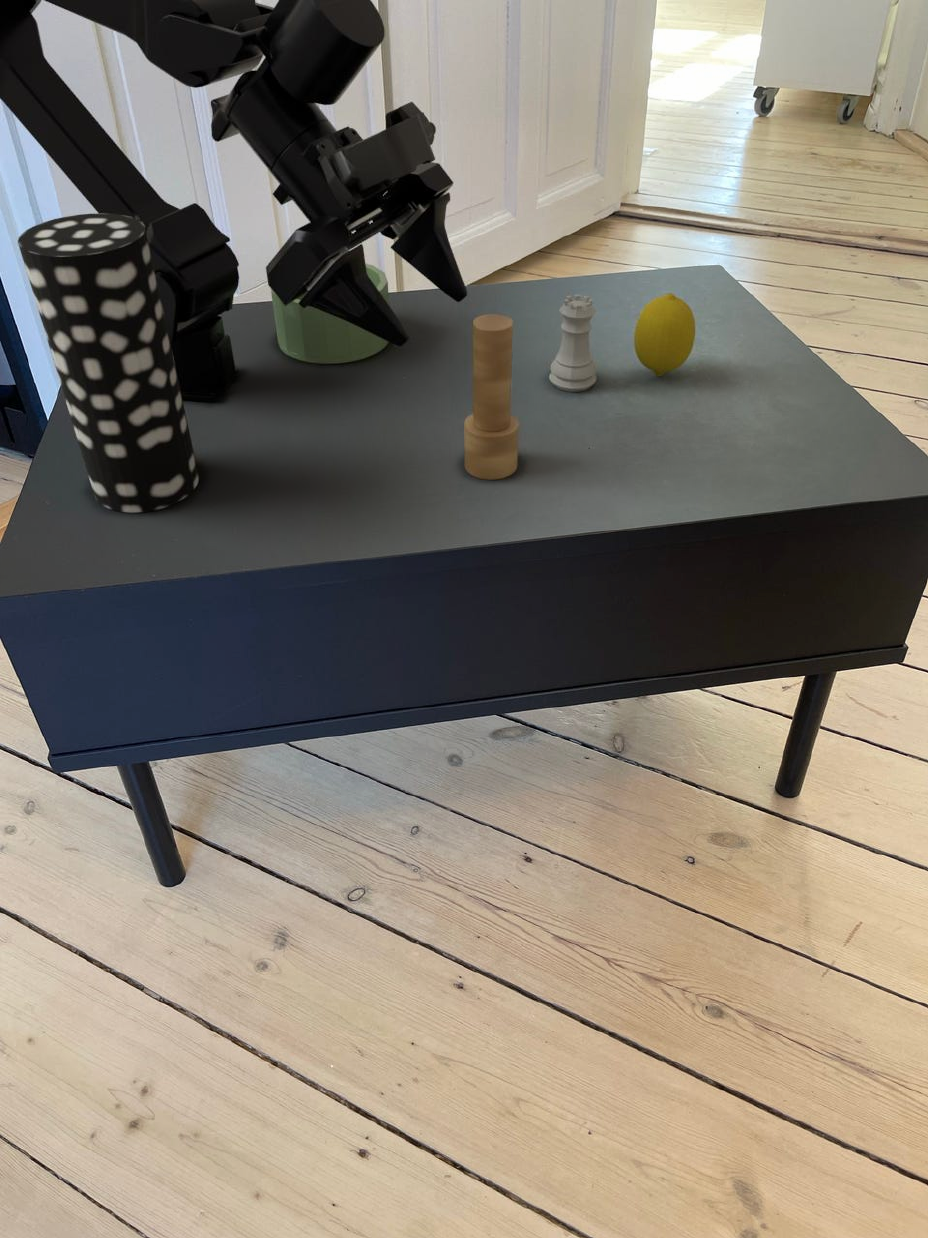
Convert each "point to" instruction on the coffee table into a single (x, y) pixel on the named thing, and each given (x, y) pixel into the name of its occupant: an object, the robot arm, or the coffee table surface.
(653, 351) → the lemon
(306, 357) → the crock
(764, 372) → the coffee table surface
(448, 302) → the coffee table surface
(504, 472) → the pestle
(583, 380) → the rook chess piece
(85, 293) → the white-spotted black cylinder
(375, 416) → the coffee table surface
